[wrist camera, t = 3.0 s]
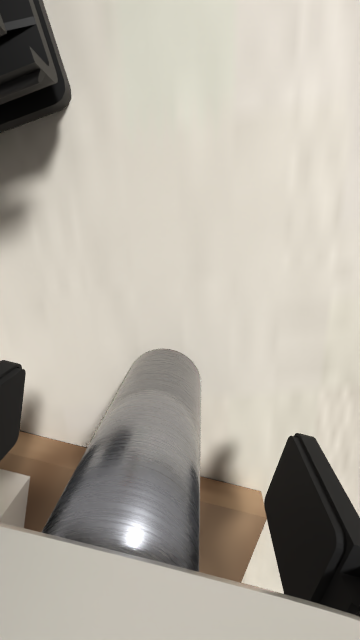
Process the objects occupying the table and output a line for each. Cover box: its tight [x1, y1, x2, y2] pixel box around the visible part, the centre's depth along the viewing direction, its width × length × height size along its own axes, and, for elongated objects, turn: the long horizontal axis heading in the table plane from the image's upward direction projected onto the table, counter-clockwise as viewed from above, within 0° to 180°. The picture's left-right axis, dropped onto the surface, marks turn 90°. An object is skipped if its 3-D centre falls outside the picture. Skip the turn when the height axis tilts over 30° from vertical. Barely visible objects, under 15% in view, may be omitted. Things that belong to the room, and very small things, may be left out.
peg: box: [41, 349, 201, 572], centre depth 10 cm, size 3×3×10 cm
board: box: [0, 431, 267, 583], centre depth 16 cm, size 22×12×2 cm, turn 77°
